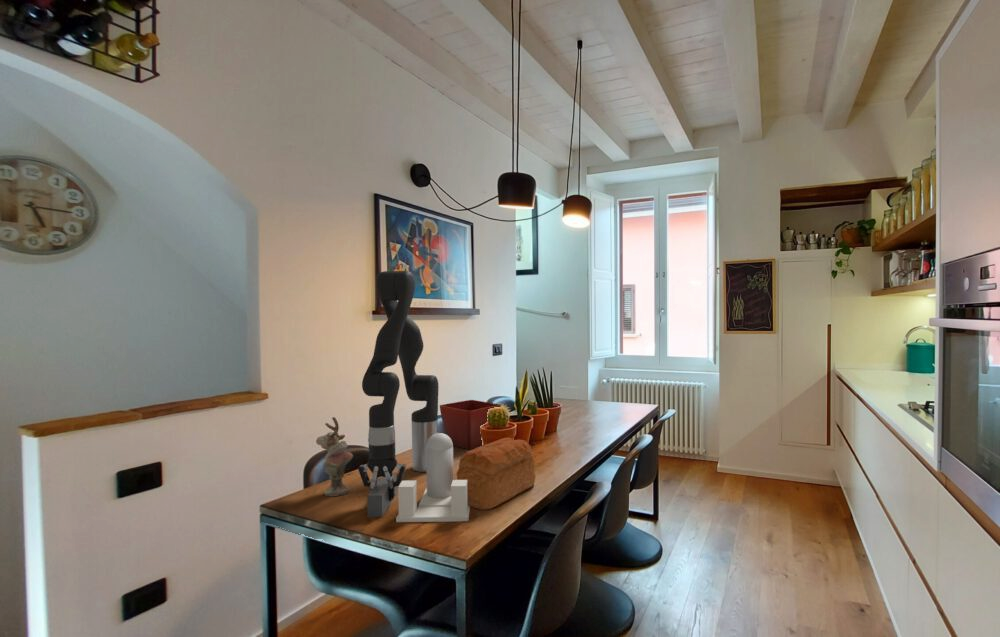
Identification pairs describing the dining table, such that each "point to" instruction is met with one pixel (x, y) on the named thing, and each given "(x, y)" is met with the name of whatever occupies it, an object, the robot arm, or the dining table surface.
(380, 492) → the gray bar
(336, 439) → the decorative bust
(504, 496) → the bread
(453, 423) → the plant pot
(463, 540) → the dining table surface
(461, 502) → the display stand
